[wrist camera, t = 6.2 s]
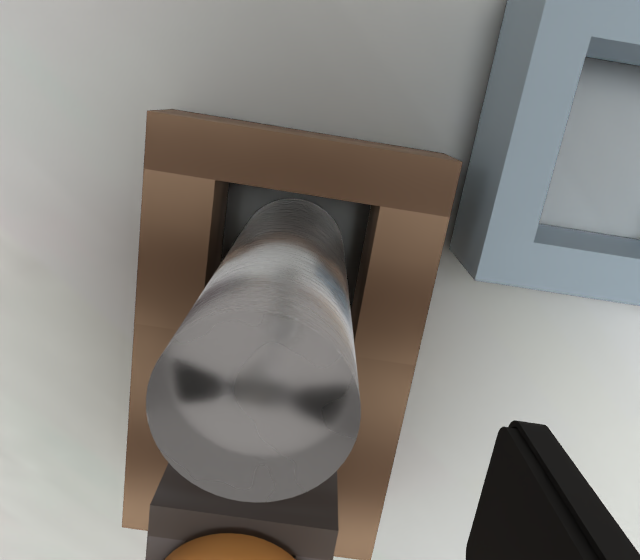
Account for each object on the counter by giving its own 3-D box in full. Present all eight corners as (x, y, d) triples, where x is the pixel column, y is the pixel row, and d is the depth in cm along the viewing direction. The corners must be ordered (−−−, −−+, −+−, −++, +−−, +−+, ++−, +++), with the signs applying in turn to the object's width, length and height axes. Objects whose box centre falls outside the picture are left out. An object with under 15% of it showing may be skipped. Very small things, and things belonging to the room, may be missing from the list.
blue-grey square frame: (508, -6, 19) (554, -33, 15) (764, 38, 19) (870, 23, 16) (449, 248, 22) (475, 280, 18) (674, 284, 22) (746, 322, 18)
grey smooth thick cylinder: (247, 190, 21) (153, 296, 10) (351, 207, 21) (379, 330, 10) (235, 290, 22) (139, 487, 11) (334, 304, 23) (341, 515, 11)
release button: (205, 403, 20) (139, 568, 13) (326, 421, 20) (325, 593, 13) (195, 503, 22) (129, 702, 15) (308, 519, 22) (298, 723, 15)
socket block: (172, 109, 20) (59, 115, 12) (443, 153, 21) (525, 190, 12) (145, 478, 25) (50, 674, 17) (365, 509, 26) (384, 716, 17)
